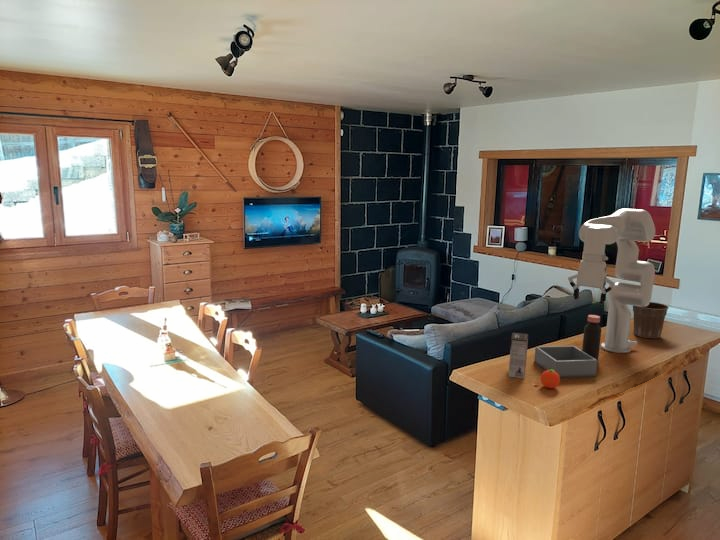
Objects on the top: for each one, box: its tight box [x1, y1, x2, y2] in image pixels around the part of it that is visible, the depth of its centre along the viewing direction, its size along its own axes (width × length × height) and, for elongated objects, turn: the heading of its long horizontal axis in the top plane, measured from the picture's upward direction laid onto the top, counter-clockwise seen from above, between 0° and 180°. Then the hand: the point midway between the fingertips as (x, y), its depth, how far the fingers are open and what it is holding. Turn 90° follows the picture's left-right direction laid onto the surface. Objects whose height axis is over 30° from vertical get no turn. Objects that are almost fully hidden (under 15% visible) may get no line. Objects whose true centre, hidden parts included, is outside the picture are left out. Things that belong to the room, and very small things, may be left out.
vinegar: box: [581, 314, 602, 363], centre depth 223 cm, size 7×7×20 cm
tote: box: [533, 345, 598, 379], centre depth 214 cm, size 18×18×7 cm
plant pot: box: [632, 301, 670, 340], centre depth 260 cm, size 16×16×16 cm
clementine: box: [540, 369, 561, 389], centre depth 195 cm, size 8×7×7 cm
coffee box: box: [508, 332, 529, 379], centre depth 207 cm, size 9×6×16 cm
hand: (589, 300), depth 203 cm, fingers open, 9 cm apart
